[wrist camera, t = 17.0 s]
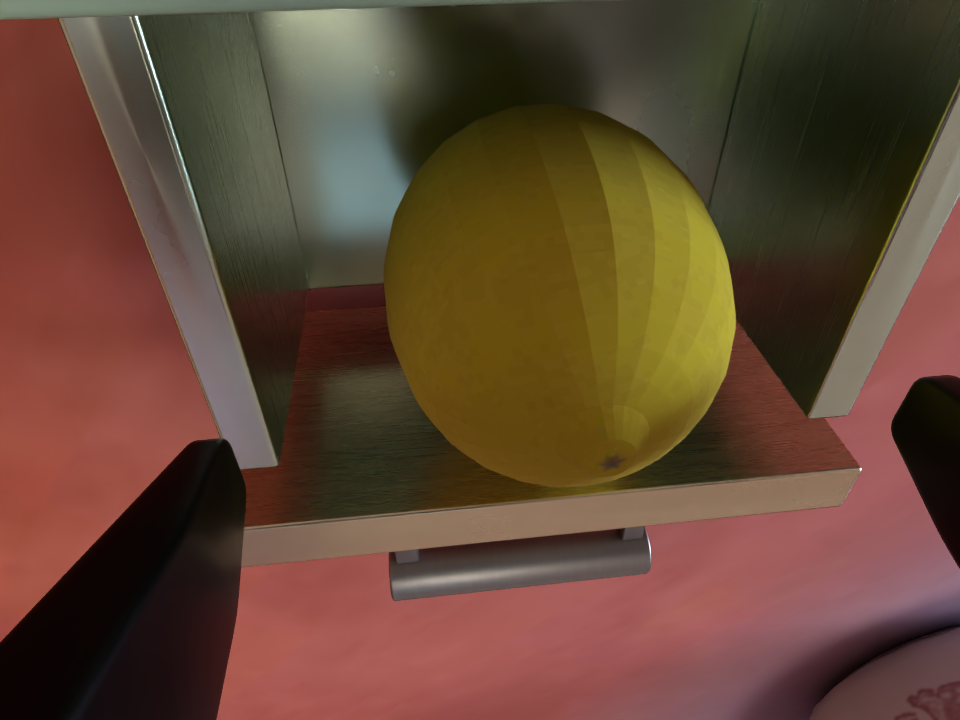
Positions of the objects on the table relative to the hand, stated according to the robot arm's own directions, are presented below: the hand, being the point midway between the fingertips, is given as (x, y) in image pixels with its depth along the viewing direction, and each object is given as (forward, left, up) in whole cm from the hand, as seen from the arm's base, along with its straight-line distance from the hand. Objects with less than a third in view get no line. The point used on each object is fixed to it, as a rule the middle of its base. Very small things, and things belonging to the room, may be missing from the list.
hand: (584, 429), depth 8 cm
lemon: (0, 0, -8) cm, 8 cm away
